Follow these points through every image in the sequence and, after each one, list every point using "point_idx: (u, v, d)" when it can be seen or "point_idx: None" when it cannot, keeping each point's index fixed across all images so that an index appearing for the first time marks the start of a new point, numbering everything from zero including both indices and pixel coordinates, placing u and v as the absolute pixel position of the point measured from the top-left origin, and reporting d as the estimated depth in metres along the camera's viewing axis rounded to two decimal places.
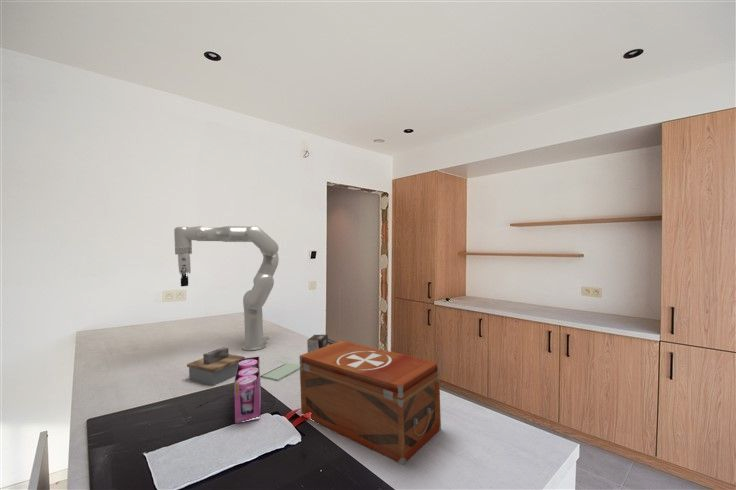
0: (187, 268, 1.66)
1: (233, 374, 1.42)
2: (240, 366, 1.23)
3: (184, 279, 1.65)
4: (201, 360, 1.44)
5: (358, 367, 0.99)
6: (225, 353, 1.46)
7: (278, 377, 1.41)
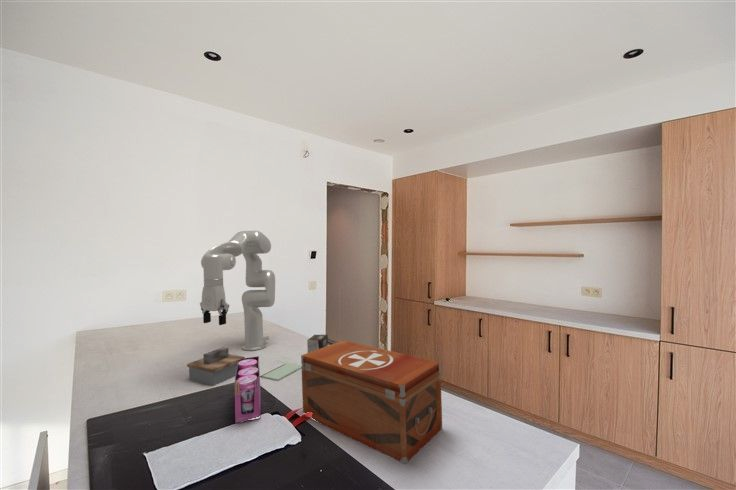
0: None
1: (233, 374, 1.42)
2: (240, 366, 1.23)
3: None
4: (201, 360, 1.44)
5: (359, 367, 0.99)
6: (225, 353, 1.46)
7: (278, 377, 1.41)
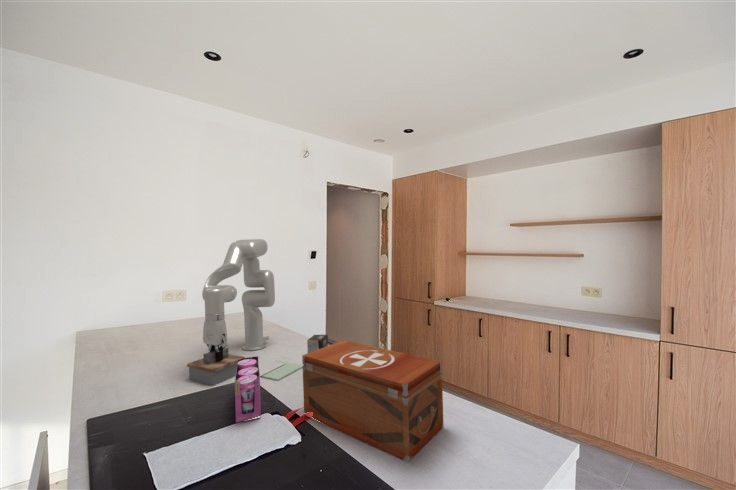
0: None
1: (233, 374, 1.42)
2: (239, 366, 1.23)
3: None
4: (201, 360, 1.44)
5: (361, 366, 0.99)
6: (225, 353, 1.46)
7: (278, 377, 1.41)
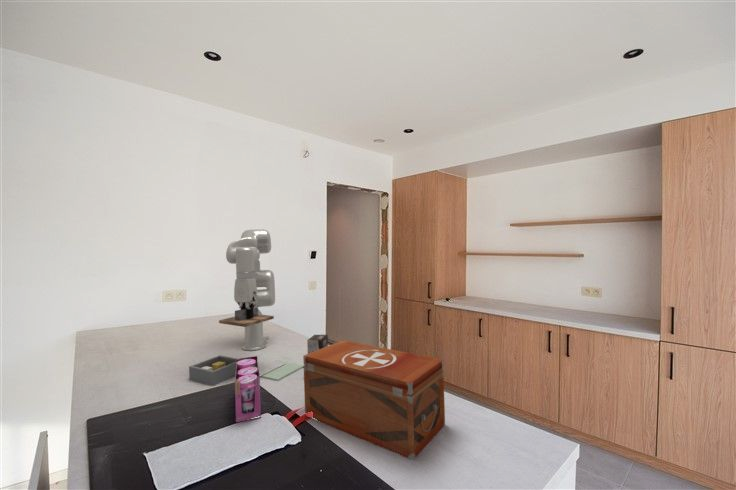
0: None
1: (233, 374, 1.42)
2: (239, 366, 1.23)
3: None
4: (232, 318, 1.48)
5: (364, 366, 1.00)
6: (255, 312, 1.49)
7: (278, 377, 1.41)
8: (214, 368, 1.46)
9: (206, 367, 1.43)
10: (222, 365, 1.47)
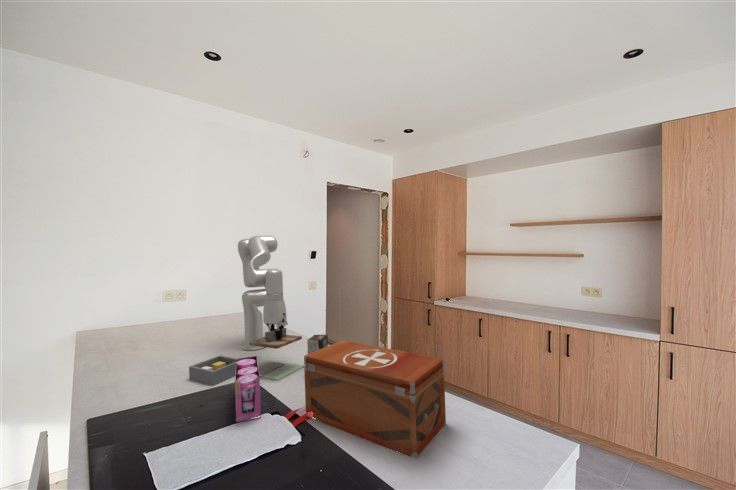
0: None
1: (233, 374, 1.42)
2: (238, 366, 1.23)
3: None
4: (261, 339, 1.50)
5: (366, 365, 1.00)
6: (283, 332, 1.52)
7: (278, 377, 1.41)
8: (214, 368, 1.46)
9: (206, 367, 1.43)
10: (222, 365, 1.47)
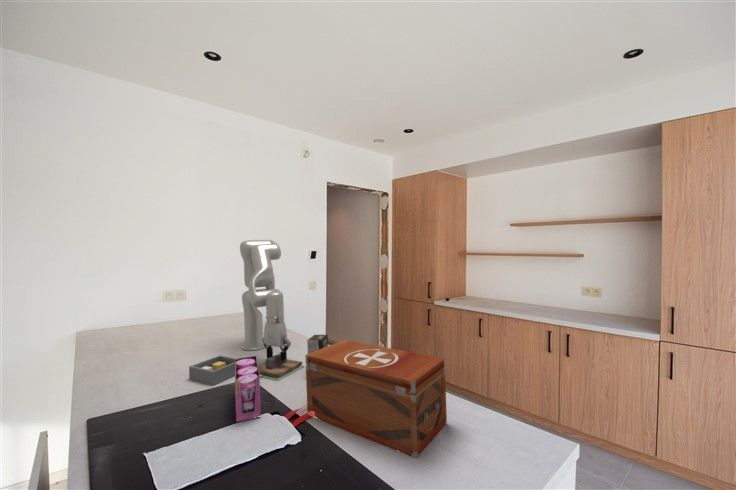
0: None
1: (233, 374, 1.42)
2: (238, 365, 1.23)
3: None
4: (262, 365, 1.51)
5: (367, 365, 1.00)
6: None
7: (278, 377, 1.41)
8: (214, 368, 1.46)
9: (206, 367, 1.43)
10: (222, 365, 1.47)
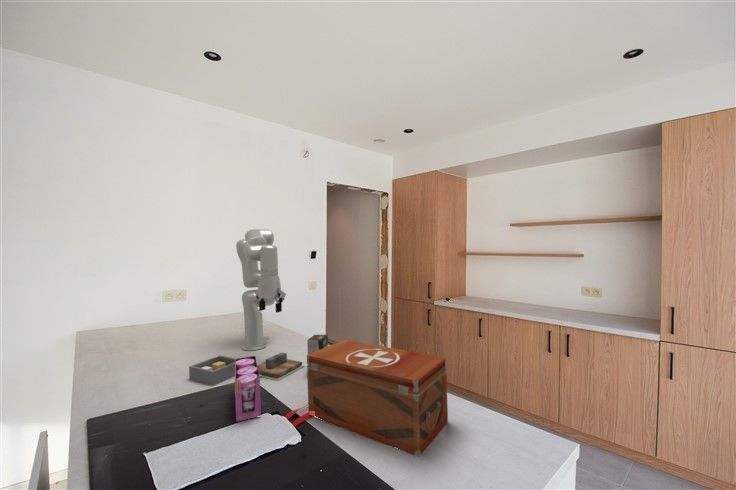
0: None
1: (233, 374, 1.42)
2: (237, 365, 1.23)
3: None
4: (262, 365, 1.51)
5: (369, 364, 1.01)
6: (284, 358, 1.53)
7: (278, 377, 1.41)
8: (214, 368, 1.46)
9: (206, 367, 1.43)
10: (222, 365, 1.47)
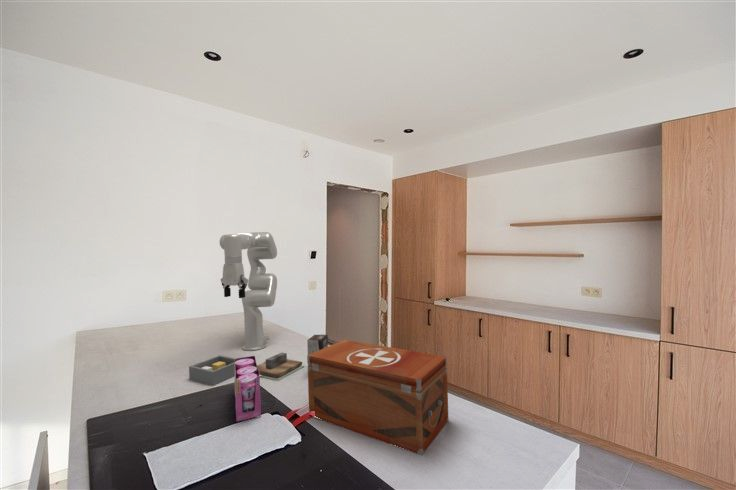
0: None
1: (233, 374, 1.42)
2: (237, 365, 1.23)
3: None
4: (262, 365, 1.51)
5: (370, 364, 1.01)
6: (284, 358, 1.53)
7: (278, 377, 1.41)
8: (214, 368, 1.46)
9: (206, 367, 1.43)
10: (222, 365, 1.47)
